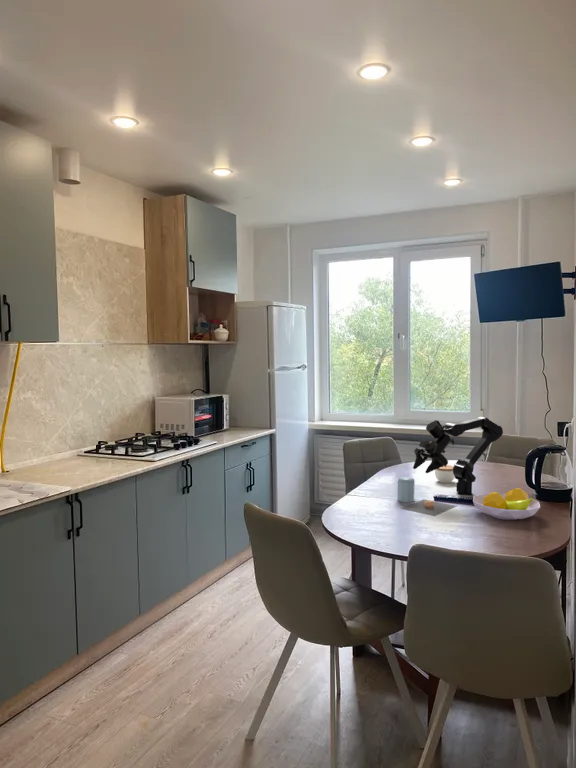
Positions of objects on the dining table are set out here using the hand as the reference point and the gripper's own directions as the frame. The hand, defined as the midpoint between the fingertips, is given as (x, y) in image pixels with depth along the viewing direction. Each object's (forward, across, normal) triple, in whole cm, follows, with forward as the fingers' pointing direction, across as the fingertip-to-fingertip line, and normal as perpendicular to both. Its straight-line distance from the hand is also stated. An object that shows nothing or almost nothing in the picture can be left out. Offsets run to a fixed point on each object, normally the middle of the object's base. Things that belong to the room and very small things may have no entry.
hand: (419, 470), depth 263 cm
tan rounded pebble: (+13, +14, +5) cm, 20 cm away
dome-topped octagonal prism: (+14, 0, +4) cm, 15 cm away
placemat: (+13, +14, +6) cm, 20 cm away
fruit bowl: (-3, +36, +22) cm, 42 cm away
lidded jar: (-14, -22, +33) cm, 42 cm away
